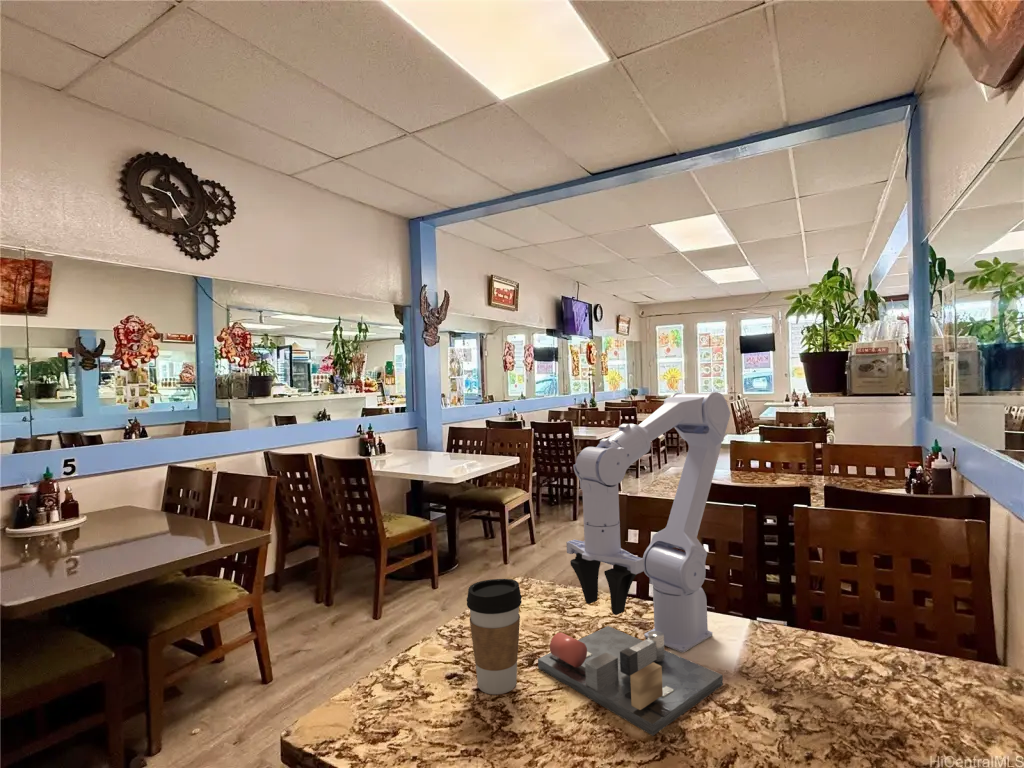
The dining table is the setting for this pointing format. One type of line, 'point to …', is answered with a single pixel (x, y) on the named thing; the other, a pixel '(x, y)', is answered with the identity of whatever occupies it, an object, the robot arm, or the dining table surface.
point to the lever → (642, 653)
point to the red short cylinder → (568, 649)
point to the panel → (613, 687)
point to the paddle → (646, 685)
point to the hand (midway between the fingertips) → (604, 607)
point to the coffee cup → (495, 633)
